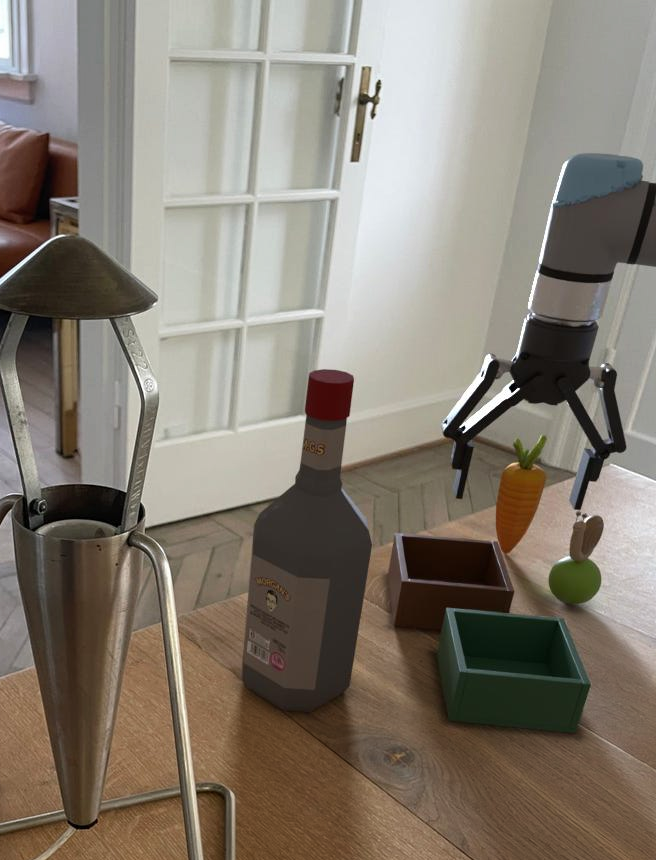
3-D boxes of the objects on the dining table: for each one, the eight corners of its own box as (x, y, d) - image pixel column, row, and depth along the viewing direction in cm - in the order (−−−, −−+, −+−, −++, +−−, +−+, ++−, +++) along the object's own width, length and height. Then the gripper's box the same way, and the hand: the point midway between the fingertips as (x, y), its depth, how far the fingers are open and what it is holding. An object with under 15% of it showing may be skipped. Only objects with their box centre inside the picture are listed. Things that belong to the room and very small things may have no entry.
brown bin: (487, 584, 111) (497, 541, 108) (503, 636, 102) (514, 591, 99) (387, 575, 112) (395, 532, 109) (393, 626, 103) (402, 581, 100)
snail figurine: (530, 602, 108) (556, 504, 102) (557, 584, 112) (584, 488, 105) (575, 621, 105) (606, 521, 98) (602, 602, 109) (633, 504, 102)
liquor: (297, 723, 88) (337, 403, 72) (227, 678, 94) (250, 372, 77) (361, 686, 93) (412, 380, 77) (291, 646, 99) (325, 352, 83)
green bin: (550, 664, 98) (564, 618, 95) (575, 733, 88) (591, 684, 85) (436, 653, 99) (446, 607, 96) (448, 720, 89) (460, 671, 86)
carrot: (484, 559, 116) (512, 441, 108) (483, 541, 120) (510, 426, 112) (527, 565, 115) (558, 446, 107) (525, 547, 120) (554, 431, 111)
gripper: (673, 316, 105) (616, 496, 116) (440, 299, 107) (406, 477, 118) (695, 335, 99) (632, 523, 110) (448, 316, 101) (411, 502, 112)
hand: (515, 500), depth 114 cm, fingers open, 13 cm apart
